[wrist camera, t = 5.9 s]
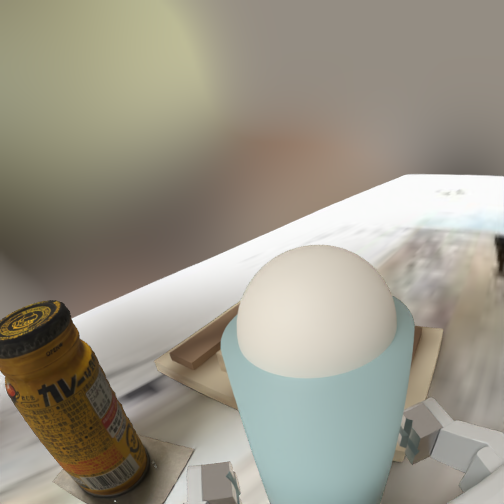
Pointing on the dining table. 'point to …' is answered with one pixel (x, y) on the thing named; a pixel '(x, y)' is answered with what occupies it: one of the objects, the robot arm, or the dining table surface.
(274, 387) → the roll-on deodorant
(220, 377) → the jig
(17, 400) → the condiment
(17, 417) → the dining table surface
